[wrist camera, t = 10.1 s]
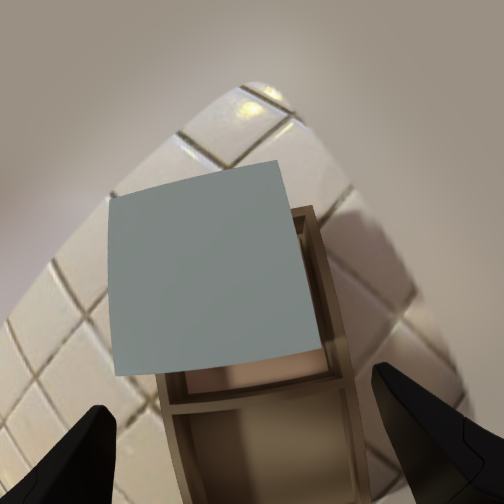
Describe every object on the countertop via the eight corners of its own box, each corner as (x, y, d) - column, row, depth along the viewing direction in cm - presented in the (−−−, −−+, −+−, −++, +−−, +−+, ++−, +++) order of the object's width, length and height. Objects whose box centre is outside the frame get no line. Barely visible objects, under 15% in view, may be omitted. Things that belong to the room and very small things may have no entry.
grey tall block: (298, 353, 16) (321, 348, 6) (208, 368, 16) (115, 376, 7) (281, 266, 18) (277, 160, 8) (196, 282, 18) (109, 199, 8)
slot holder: (361, 506, 12) (373, 527, 10) (210, 527, 13) (198, 550, 10) (308, 227, 19) (312, 204, 16) (162, 257, 19) (143, 240, 16)
